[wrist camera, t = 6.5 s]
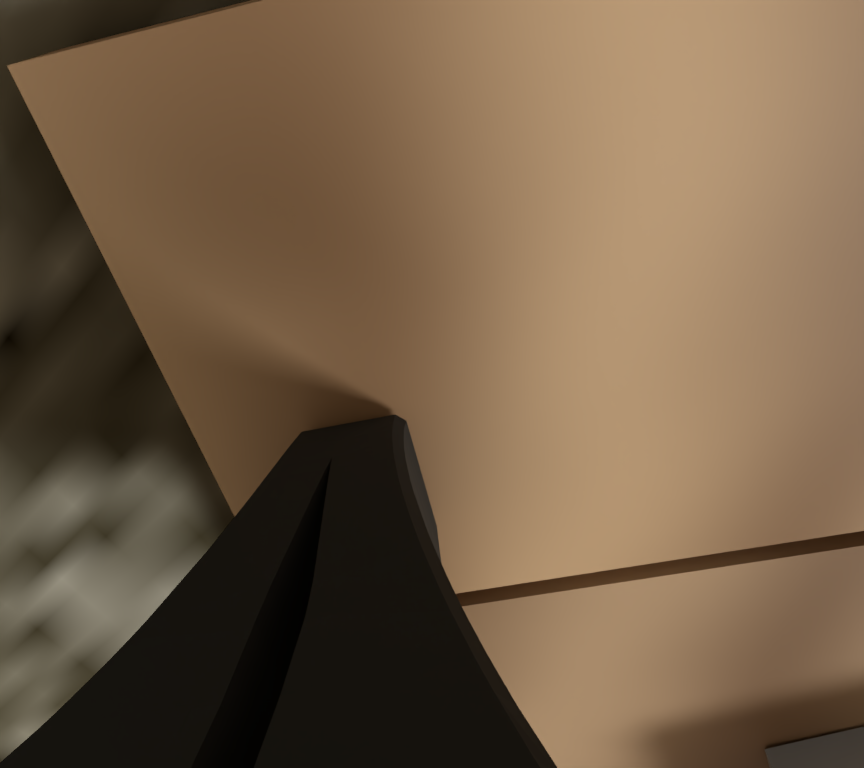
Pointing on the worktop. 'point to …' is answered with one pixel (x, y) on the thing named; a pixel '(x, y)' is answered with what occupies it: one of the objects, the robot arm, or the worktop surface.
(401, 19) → the board
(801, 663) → the laid strip
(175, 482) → the worktop surface
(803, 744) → the block
